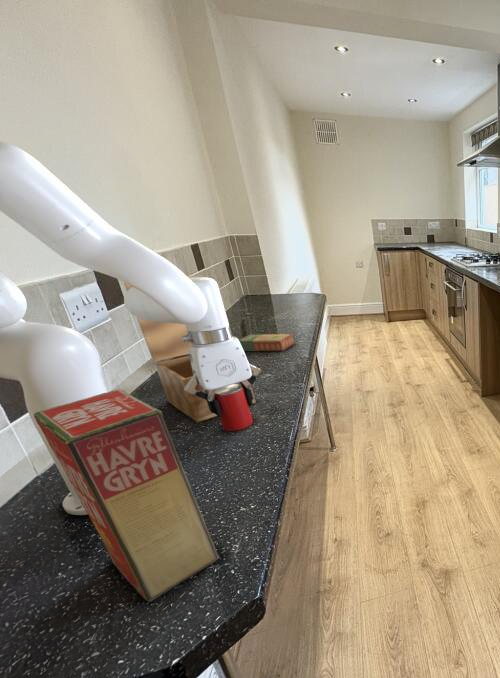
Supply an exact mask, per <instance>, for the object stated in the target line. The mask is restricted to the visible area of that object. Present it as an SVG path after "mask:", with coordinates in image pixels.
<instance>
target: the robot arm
mask: <svg viewBox="0 0 500 678" xmlns="http://www.w3.org/2000/svg"><path fill="white" fill-rule="evenodd" d="M0 212H1V213H2V214H4V215H5V216H7V217H8V218H9V219H11V220H12V221H13V222H15V223H16V224H17V225H19V226H20V227H22V229H24V230H25V231H27V232H28V233H30V234H31V235H32V236H33V237H35V238H36V239H38V240H39V241H40V242H41V243H43V244H44V245H45V246H47V247H48V248H49V249H50V250H51V251H53V252H54V253H56V254H57V255H59V256H60V258H63V259H64V260H66V261H69V262H71V263H74V264H76V265H78V266H80V267H82V268H85V269H88V270H91V271H94V272H98V273H99V274H103V275H105V276H106V275H107V276H109V277H112V278H115V279H117V280H119V281H121V282H123V283H127V284H129V285H131V286H133V287H131V288H130V289H129V290H128V291H127V290H126V291H125V293H124V296H123V303H124V306H125V308H126V310H127V311H128V312H129V313H130V314H131V315H133V316H134V317H136V318H137V317H138V318H140V319H143V320H147V321H154V322H169V323H178V324H186V327H187V330H188V331H187V334H186V335H184V336H181V338H182V341H183V342H187V341H188V342H191V343H192V344H190V345H189V354H190V361H191V366H192V371H193V376H192V378H191V379H190V381H189V382H188V384H187V385H186V387H185V388H184V391H186V392H187V393H190V394H193V395H196V396H198V397H200V398H203V399H206V400H207V403H208V406H209V409H210V411H211V413H214V414H216V415H217V416H216V417H220V416H221V415H222V413H221V409H220V406H219V403H218V400H217V399H215V397H214V396H215V389H218V388H222V387H225V386H228V385H232V384H235V383H238V382H239V383H240V384H241V385H242V387H243V389H244V393H245V396H246V400H247V403H248V406H253V405H254V403H252V400H253V396H252V392H251V388H252V389H253V385H254V383H255V382H256V380H257V377H258V376H259V375H260V374H261V371H262V370H261V368H259V367H257V366H255V365H254V364H251V363H249V360H248V358H247V355H246V353H245V351H244V350H243V348H242V346H241V344H240V342H239V340H240V339H239V338H238V337H236V336H233V334H232V330H231V326H230V323H229V319H228V316H227V313H226V309H225V306H224V301H223V299H222V295H221V292H220V291H221V290H220V287H219V285H218V283H217V281H216V280H215V279H214V278H212V277H207V276H193V277H192V276H191V277H192V278H188V277H187V276H188V275H186V274H185V273H184V272H183V271H181V269H179V268H178V267H177V266H176V265H174V264H173V263H172V262H171V261H169V260H168V259H167V258H165V257H163V256H161V255H160V254H159V253H157V252H155V251H154V250H152V249H150V248H149V247H147V246H145V245H144V244H142V243H140V242H138V241H137V240H135V239H134V238H132V237H130V236H128V235H126V234H124V233H122V232H121V231H119V230H117V229H116V228H114V227H113V226H112V225H110V224H109V223H108V222H107V221H106V220H105V219H103V218H102V217H101V216H100V215H99V214H98V213H97V212H95V211H94V210H93V209H92V208H91V207H90V206H89V205H88V204H87V203H86V202H84V201H83V200H82V199H81V198H80V197H79V196H78V195H77V194H76V193H74V192H73V191H72V190H71V189H70V188H69V187H68V186H67V185H66V184H64V183H63V182H62V181H61V180H60V179H59V178H58V177H57V176H55V175H54V174H53V173H52V172H50V170H49V169H47V168H46V167H45V166H44V165H43V164H42V163H41V162H40V161H38V160H37V159H36V158H35V157H33V156H32V155H31V154H30V153H28V152H27V151H25V150H23V149H22V148H20V147H18V146H16V145H14V144H11V143H8V142H5V141H0ZM27 302H28V301H27V299H26V296H25V295H24V293H23V291H22V290H21V289H20V287H18V285H17V284H16V283H14V282H13V281H12V280H11V279H10V278H9V277H7V276H6V275H5V274H4V273H3V272H1V271H0V379H6V380H11V381H17V382H19V383H20V385H21V387H22V391H23V397H24V402H25V407H26V410H27V413H28V415H29V417H30V419H31V421H32V423H33V425H34V427H35V429H36V431H37V432H38V434H39V436H40V438H41V440H42V441H43V444H44V446H45V447H46V449H47V452H48V453H49V456H50V457H51V458H52V459H51V460H53V462H54V464H55V466H56V469H57V471H58V472H59V474H60V475H61V477H62V479H63V481H64V483H65V485H66V487H67V489H68V491H69V493H68V494H67V495H66V496H65V497H64V499H63V500H62V503H61V504H62V507H63V509H64V511H65V512H66V513H67V514H70V515H72V516H73V515H74V516H89V515H88V513H87V512H86V510H85V508H84V507H83V505H82V504H81V502H80V500H79V498H78V496H77V494H76V492H75V490H74V488H73V486H72V484H71V482H70V481H69V479H68V477H67V475H66V473H65V471H64V469H63V468H62V466H61V464H60V462H59V461H58V459H57V457H56V455H55V454H54V452H53V450H52V448H51V447H50V445H49V443H48V441H47V439H46V437H45V435H44V433H43V432H42V430H41V428H40V426H39V425H38V423H37V421H36V419H35V417H34V414H35V413H37V412H40V411H43V410H47V409H50V408H53V407H57V406H60V405H65V404H69V403H72V402H75V401H78V400H82V399H86V398H90V397H93V396H96V395H99V394H103V393H107V392H109V390H108V388H107V385H106V381H105V377H104V373H103V368H102V367H103V366H102V360H101V357H100V356H101V355H100V354H99V351H98V349H97V347H96V345H95V344H94V342H92V341H91V339H90V338H88V337H87V336H86V335H84V333H83V334H82V333H81V332H79V331H77V330H75V329H74V328H71V327H67V326H64V325H59V324H53V323H45V322H33V321H26V320H25V319H23V318H24V316H25V315H26V312H27V309H28V303H27ZM197 385H199V386H202V388H204V391H203V392H202V391H200V390H197V389H195V387H196V386H197Z"/></svg>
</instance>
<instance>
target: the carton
mask: <svg viewBox="0 0 500 678" xmlns="http://www.w3.org/2000/svg"><path fill="white" fill-rule="evenodd" d="M238 340H239V342H240V344H241V346H242V348H243V350H244V352H259V351H260V352H263V351H265V352H266V351H269V352H271V351H272V352H273V351H274V352H275V351H279V352H280V351H284V350H286V349H288V348H289V347H292V346H293V345H294V338H293V334H291V333H274V334H273V333H267V334H266V333H264V334H262V333H261V334H260V333H259V334H258V333H257V334H253V333H251V334H248V335H246V336H244V337H242V338H240V339H238Z"/></svg>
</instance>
